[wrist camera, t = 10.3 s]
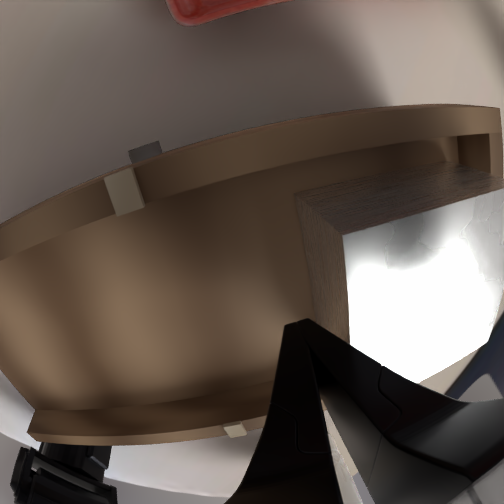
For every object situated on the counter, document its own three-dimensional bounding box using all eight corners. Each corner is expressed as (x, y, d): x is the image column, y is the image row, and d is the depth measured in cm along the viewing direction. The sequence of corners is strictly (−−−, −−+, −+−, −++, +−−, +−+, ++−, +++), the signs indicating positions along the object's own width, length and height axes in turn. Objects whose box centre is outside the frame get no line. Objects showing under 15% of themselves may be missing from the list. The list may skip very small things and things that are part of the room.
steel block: (319, 344, 13) (350, 411, 9) (294, 193, 10) (342, 235, 6) (440, 296, 13) (487, 341, 9) (446, 160, 10) (518, 183, 6)
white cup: (313, 420, 25) (342, 508, 16) (350, 437, 28) (377, 507, 19) (253, 452, 26) (266, 533, 17) (296, 465, 29) (313, 532, 20)
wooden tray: (56, 401, 16) (40, 447, 12) (-45, 241, 10) (-88, 275, 6) (437, 309, 16) (475, 349, 12) (436, 93, 11) (501, 96, 7)
